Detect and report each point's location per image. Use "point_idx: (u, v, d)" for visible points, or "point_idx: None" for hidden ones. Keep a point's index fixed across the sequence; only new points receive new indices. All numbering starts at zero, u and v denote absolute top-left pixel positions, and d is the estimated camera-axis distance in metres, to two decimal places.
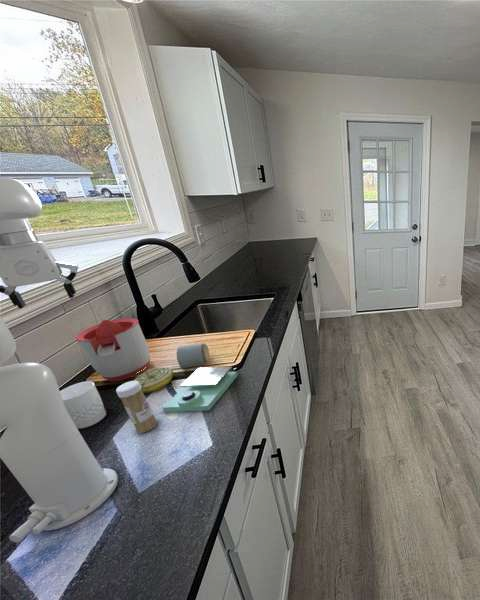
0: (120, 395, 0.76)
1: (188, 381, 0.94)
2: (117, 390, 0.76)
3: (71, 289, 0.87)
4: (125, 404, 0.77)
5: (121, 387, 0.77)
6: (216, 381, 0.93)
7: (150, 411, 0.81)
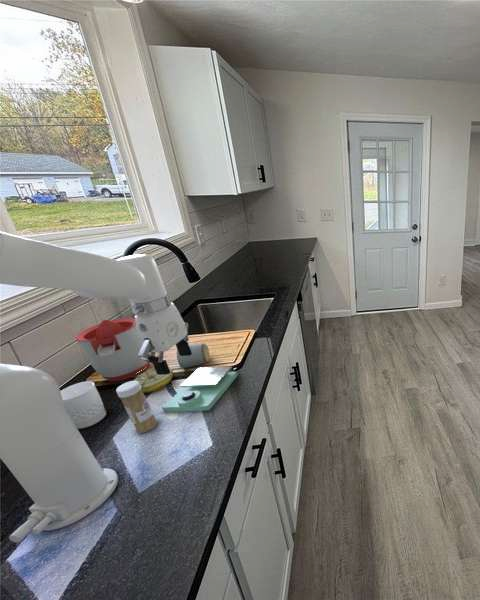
0: (120, 395, 0.76)
1: (188, 381, 0.94)
2: (117, 390, 0.76)
3: None
4: (125, 404, 0.77)
5: (121, 387, 0.77)
6: (216, 381, 0.93)
7: (150, 411, 0.81)
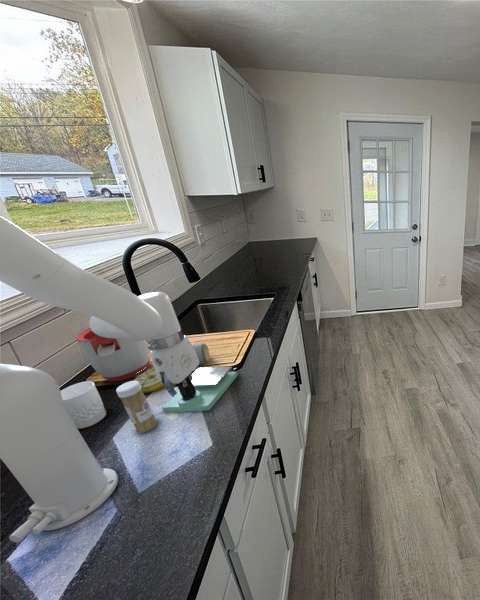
0: (120, 395, 0.76)
1: None
2: (117, 390, 0.76)
3: None
4: (125, 404, 0.77)
5: (121, 387, 0.77)
6: (216, 381, 0.93)
7: (150, 411, 0.81)
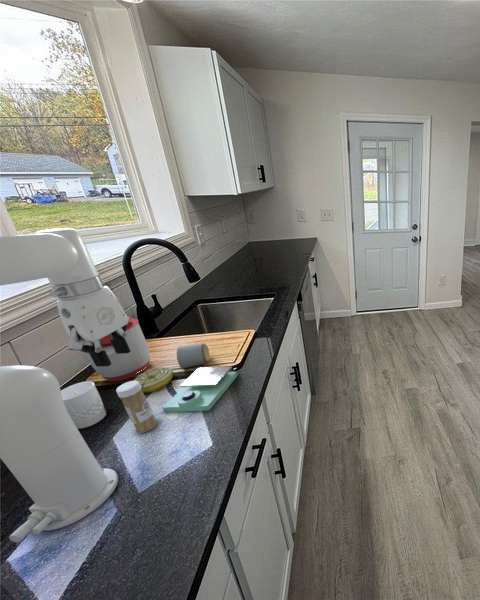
0: (120, 395, 0.76)
1: (188, 381, 0.94)
2: (117, 390, 0.76)
3: None
4: (125, 404, 0.77)
5: (121, 387, 0.77)
6: (216, 381, 0.93)
7: (150, 411, 0.81)
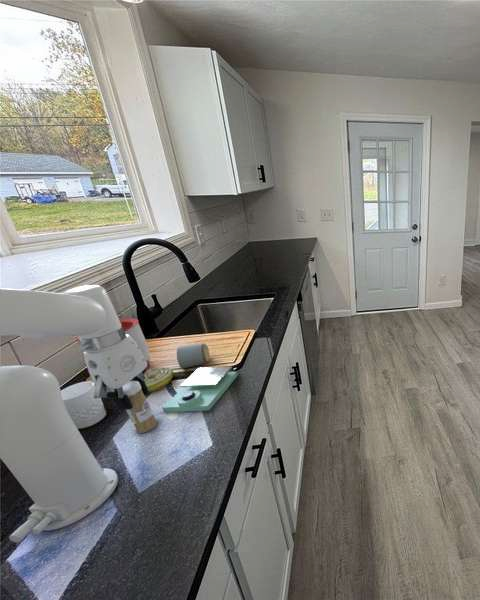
0: None
1: (188, 381, 0.94)
2: None
3: None
4: None
5: None
6: (216, 381, 0.93)
7: (150, 411, 0.81)
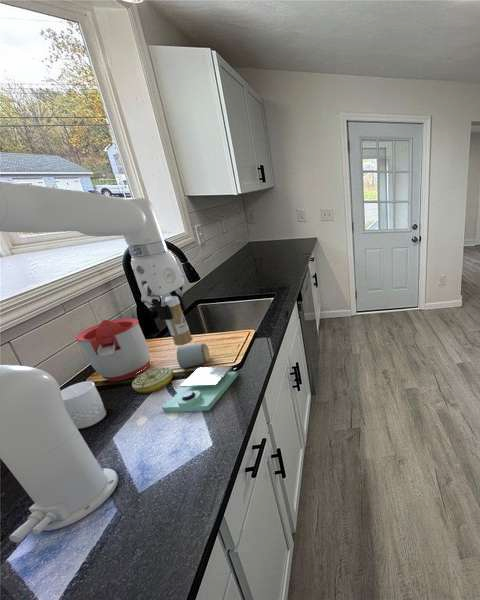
0: None
1: (188, 381, 0.94)
2: None
3: None
4: None
5: None
6: (216, 381, 0.93)
7: (187, 326, 0.88)
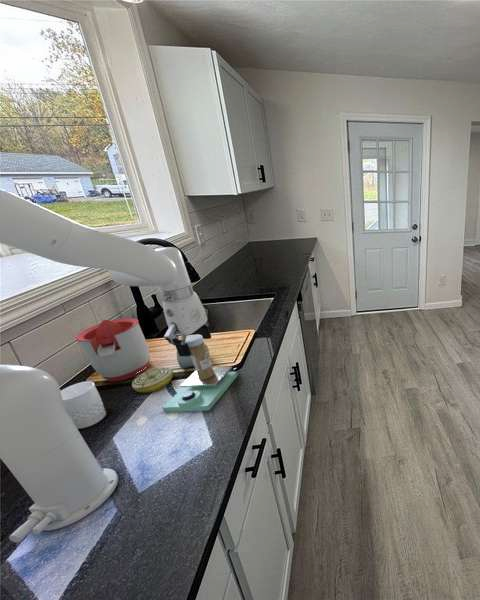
0: (188, 344, 0.90)
1: (188, 381, 0.94)
2: (185, 341, 0.90)
3: None
4: (191, 353, 0.91)
5: (188, 339, 0.91)
6: (216, 381, 0.93)
7: (210, 361, 0.95)
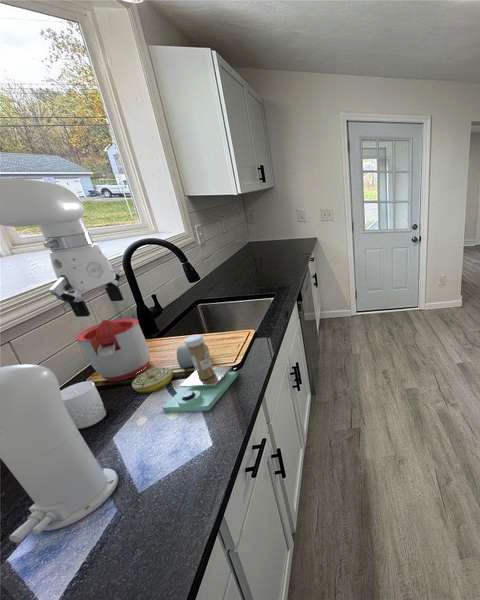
0: (188, 344, 0.90)
1: (188, 381, 0.94)
2: (185, 341, 0.90)
3: None
4: (191, 353, 0.91)
5: (188, 339, 0.91)
6: (216, 381, 0.93)
7: (210, 361, 0.95)
